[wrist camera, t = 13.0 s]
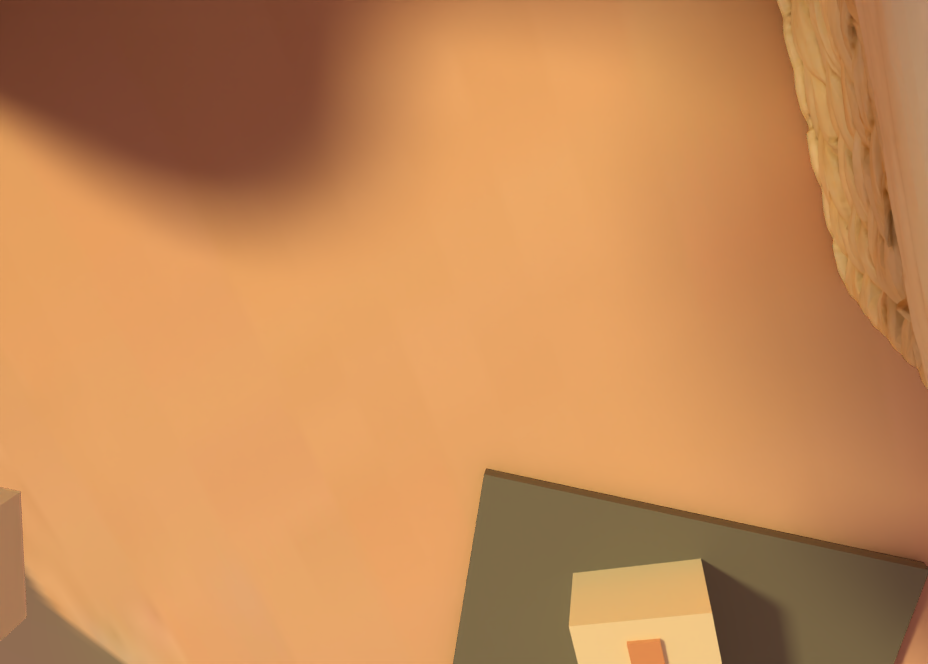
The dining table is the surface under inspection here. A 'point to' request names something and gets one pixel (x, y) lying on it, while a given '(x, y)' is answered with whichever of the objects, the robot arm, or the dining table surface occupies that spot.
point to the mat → (669, 540)
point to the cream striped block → (643, 615)
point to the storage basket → (870, 151)
